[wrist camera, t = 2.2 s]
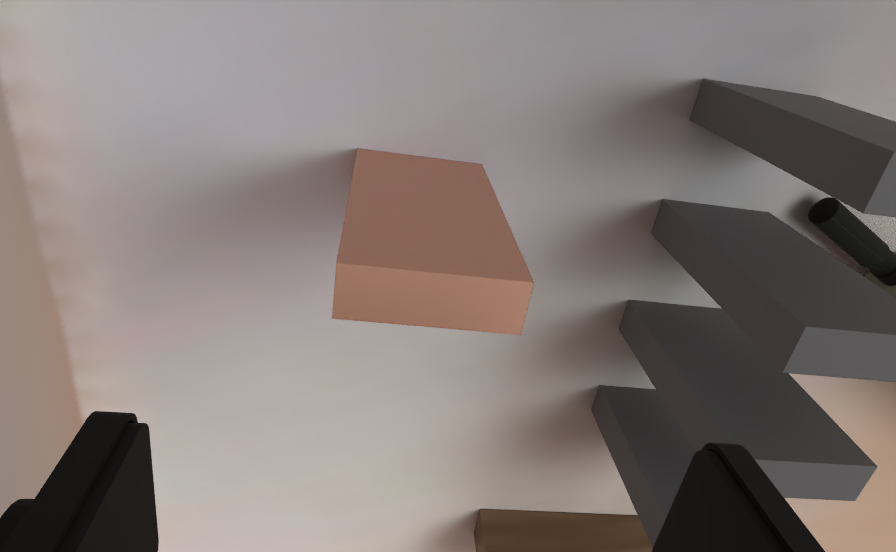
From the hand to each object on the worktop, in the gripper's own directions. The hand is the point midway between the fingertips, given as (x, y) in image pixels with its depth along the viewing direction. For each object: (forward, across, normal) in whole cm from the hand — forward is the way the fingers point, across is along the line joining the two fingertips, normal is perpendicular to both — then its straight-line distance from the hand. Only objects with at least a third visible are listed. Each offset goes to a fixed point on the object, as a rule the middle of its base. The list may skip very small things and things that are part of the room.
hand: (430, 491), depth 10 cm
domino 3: (+16, -14, -5) cm, 21 cm away
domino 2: (+16, -14, +10) cm, 23 cm away
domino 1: (+16, -1, -1) cm, 16 cm away
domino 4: (+16, -14, 0) cm, 21 cm away
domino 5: (+16, -14, +5) cm, 21 cm away
